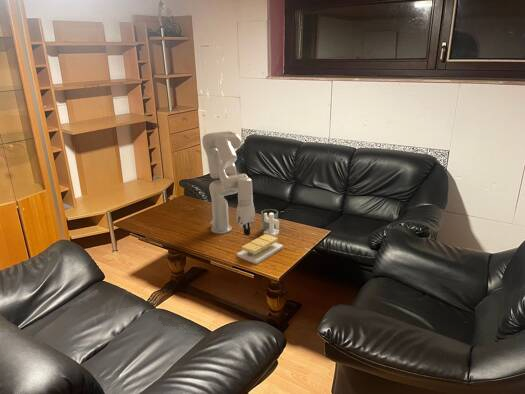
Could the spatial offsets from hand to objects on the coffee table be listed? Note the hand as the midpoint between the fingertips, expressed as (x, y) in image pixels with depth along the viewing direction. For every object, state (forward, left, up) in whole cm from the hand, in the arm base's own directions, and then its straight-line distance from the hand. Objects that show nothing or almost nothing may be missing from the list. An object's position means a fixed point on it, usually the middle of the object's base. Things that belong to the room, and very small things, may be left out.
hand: (247, 234), depth 206 cm
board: (+3, +7, -12) cm, 15 cm away
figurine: (-4, +26, -13) cm, 29 cm away
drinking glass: (-11, +33, -13) cm, 37 cm away
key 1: (+3, +14, -7) cm, 16 cm away
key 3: (+3, 0, -7) cm, 8 cm away
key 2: (+3, +7, -7) cm, 11 cm away
